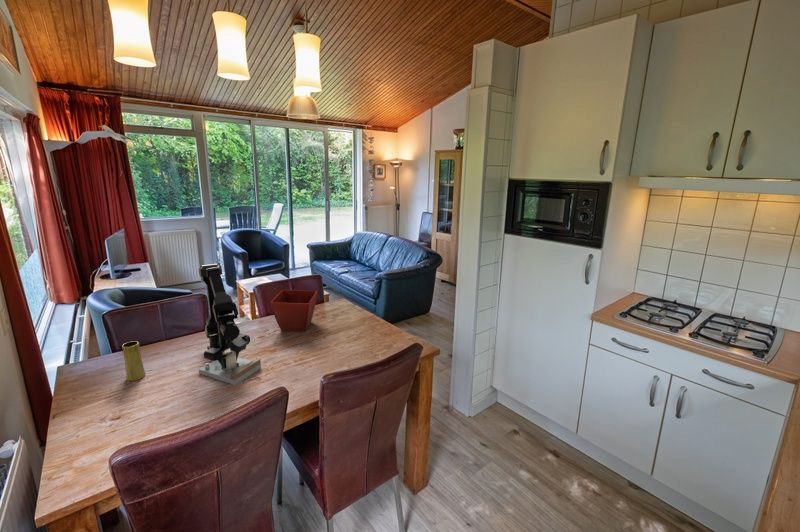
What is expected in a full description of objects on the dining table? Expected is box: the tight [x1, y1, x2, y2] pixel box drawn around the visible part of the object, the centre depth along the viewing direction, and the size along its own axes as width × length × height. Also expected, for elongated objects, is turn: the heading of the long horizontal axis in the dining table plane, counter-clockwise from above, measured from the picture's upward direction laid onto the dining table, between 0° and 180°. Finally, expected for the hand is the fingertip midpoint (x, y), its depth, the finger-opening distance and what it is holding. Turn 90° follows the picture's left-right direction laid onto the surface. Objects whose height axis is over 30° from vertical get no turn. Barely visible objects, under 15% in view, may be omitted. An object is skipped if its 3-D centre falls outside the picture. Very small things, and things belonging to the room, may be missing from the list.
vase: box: [121, 340, 146, 382], centre depth 146 cm, size 6×6×14 cm
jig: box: [198, 356, 262, 386], centre depth 153 cm, size 19×14×4 cm
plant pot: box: [270, 289, 318, 332], centre depth 195 cm, size 19×19×17 cm
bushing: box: [224, 349, 237, 371], centre depth 153 cm, size 5×5×7 cm
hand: (230, 365), depth 153 cm, fingers closed on bushing, 5 cm apart
